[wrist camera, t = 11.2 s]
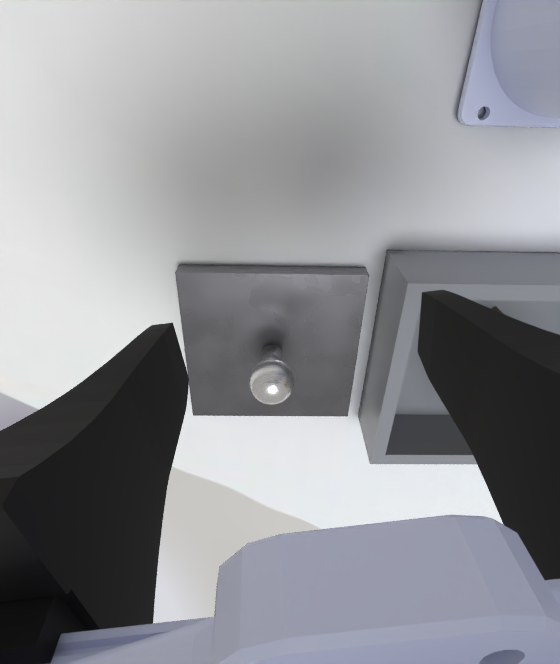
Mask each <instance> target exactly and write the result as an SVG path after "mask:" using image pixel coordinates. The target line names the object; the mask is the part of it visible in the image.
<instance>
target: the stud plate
mask: <svg viewBox="0 0 560 664" xmlns="http://www.w3.org/2000/svg"><path fill="white" fill-rule="evenodd" d="M175 274H176V282H177V290H178V298H179V306H180V314H181V322H182V330H183V338H184V346H185V354H186V362H187V370H188V377H189V386H190V394H191V402H192V410H193V415H213V416H348V411H349V404H350V398H351V391H352V385H353V378H354V371H355V365H356V358H357V352H358V345H359V339H360V332H361V326H362V319H363V312H364V306H365V299H366V293H367V286H368V280H369V274H368V272H367V270H366V267H305V266H237V265H179V266H178V268H177V270H176V272H175Z"/></svg>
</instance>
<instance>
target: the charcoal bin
mask: <svg viewBox="0 0 560 664" xmlns="http://www.w3.org/2000/svg"><path fill="white" fill-rule="evenodd" d="M436 290H447V291H450V292H453V293H455V294H458V295H460V296H463V297H465V298H467V299H470V300H472V301H474V302H476V303H479V304H481V305H483V306H486V307H488V308H490V309H491V308H493V307H494V306H496V307H497V308H498V309H499V310H500V311H501V312H502V313H503V314H504V315H507V316H509V317H512V318H514V319H517V320H519V321H522V322H525V323H527V324H530V325H533V326H535V327H538V328H541V329H544V330H547V331H550V332H553V333H556V334H559V335H560V253H538V252H475V251H412V250H387V252H386V258H385V264H384V270H383V276H382V282H381V287H380V293H379V299H378V305H377V311H376V317H375V322H374V328H373V334H372V340H371V346H370V351H369V357H368V363H367V369H366V375H365V381H364V386H363V392H362V398H361V404H360V410H359V416H358V417H359V421H360V425H361V429H362V433H363V438H364V442H365V446H366V450H367V454H368V458H369V462H370V464H477V462H476V460H475V458H474V456H473V454H472V452H471V450H470V448H469V446H468V444H467V442H466V441H465V439H464V437H463V435H462V434H461V432H460V430H459V429H458V427H457V426H456V424H455V422H454V421H453V419H452V417H451V416H450V414H449V412H448V411H447V409H446V407H445V406H444V404H443V402H442V401H441V399H440V397H439V396H438V394H437V392H436V391H435V389H434V387H433V386H432V384H431V382H430V380H429V379H428V376H427V374H426V372H425V369H424V367H423V364H422V362H421V359H420V357H419V354H418V352H417V350H418V337H419V324H420V311H421V297H422V292H427V291H436Z"/></svg>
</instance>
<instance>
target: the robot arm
mask: <svg viewBox="0 0 560 664" xmlns="http://www.w3.org/2000/svg"><path fill="white" fill-rule="evenodd" d="M482 107H485V108H486V113H485V115H484V117H482V118H481V119H479V118H478V111H479V109H480V108H482ZM458 120H459V122H461V123H462V124H464V125H468V126H502V127H543V128H560V0H483V3H482V7H481V11H480V16H479V20H478V25H477V29H476V34H475V38H474V42H473V47H472V51H471V56H470V60H469V65H468V69H467V73H466V78H465V82H464V87H463V91H462V95H461V100H460V104H459V109H458ZM417 352H418V354H419V357H420V359H421V362H422V364H423V367H424V369H425V372H426V374H427V376H428V379H429V380H430V382H431V384H432V386H433V387H434V389H435V391H436V392H437V394H438V396H439V397H440V399H441V401H442V402H443V404H444V406H445V407H446V409H447V411H448V412H449V414H450V416H451V417H452V419H453V421H454V422H455V424H456V426H457V427H458V429H459V430H460V432H461V434H462V435H463V437H464V439H465V441H466V442H467V444H468V446H469V448H470V450H471V452H472V454H473V456H474V458H475V460H476V462H477V464H478V467H479V469H480V471H481V473H482V475H483V478H484V480H485V482H486V484H487V486H488V489H489V491H490V493H491V496H492V498H493V500H494V503H495V505H496V507H497V510H498V512H499V514H500V517H501V519H502V522H503V524H504V525H503V524H501V523H499V522H498V521H496V520H494V519H492V518H488V517H483V516H465V515H444V516H436V517H427V518H418V519H409V520H400V521H392V522H383V523H374V524H365V525H356V526H347V527H339V528H330V529H321V530H313V531H303V532H295V533H287V534H279V535H276V536H272V537H269V538H265V539H262V540H258V541H255V542H251V543H247V544H246V545H245V546H244V547H242V548H241V549H240V550H239V551H238V552H236V553H235V554H234V555H233V556H232V557H230V558H229V559H228V560H227V561H225V562H224V563H223V564H222V565H221V566H219V573H218V582H217V589H216V590H217V591H216V601H215V602H216V603H215V615H214V617H208V618H199V619H190V620H181V621H172V622H163V623H154V624H153V614H154V599H155V588H156V576H157V566H158V555H159V546H160V538H161V529H162V520H163V513H164V505H165V498H166V490H167V485H168V480H169V475H170V471H171V467H172V463H173V459H174V455H175V451H176V447H177V443H178V439H179V435H180V431H181V427H182V423H183V419H184V415H185V411H186V405H187V396H188V384H189V377H188V374H187V371H186V367H185V364H184V360H183V357H182V353H181V350H180V346H179V343H178V339H177V336H176V332H175V329H174V326H173V323H167V324H159V325H152V326H150V327H149V328H147V329H146V330H145V331H143V332H142V333H141V334H140V335H139V336H137V337H136V338H135V339H134V340H133V341H132V342H130V343H129V344H128V345H127V346H126V347H125V348H123V349H122V350H121V351H120V352H119V353H118V354H116V355H115V356H114V357H113V358H112V359H111V360H109V361H108V362H107V363H106V364H104V365H103V366H102V367H101V368H99V369H98V370H97V371H95V372H94V373H93V374H92V375H90V376H89V377H88V378H86V379H85V380H84V381H83V382H81V383H80V384H78V385H77V386H76V387H74V388H73V389H71V390H70V391H68V392H67V393H65V394H64V395H62V396H61V397H59V398H58V399H56V400H55V401H53V402H51V403H50V404H48V405H47V406H45V407H43V408H42V409H40V410H38V411H36V412H34V413H33V414H31V415H29V416H27V417H25V418H24V419H22V420H20V421H18V422H16V423H15V424H13V425H11V426H9V427H7V428H5V429H3V430H1V431H0V664H560V335H559V334H556V333H553V332H550V331H547V330H544V329H541V328H538V327H535V326H533V325H530V324H527V323H525V322H522V321H519V320H517V319H514V318H512V317H509V316H507V315H504V314H502V313H500V312H497V311H495V310H493V309H490V308H488V307H486V306H483V305H481V304H479V303H476V302H474V301H472V300H470V299H467V298H465V297H463V296H460V295H458V294H455V293H453V292H450V291H447V290H436V291H427V292H422V297H421V311H420V324H419V337H418V350H417Z"/></svg>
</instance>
